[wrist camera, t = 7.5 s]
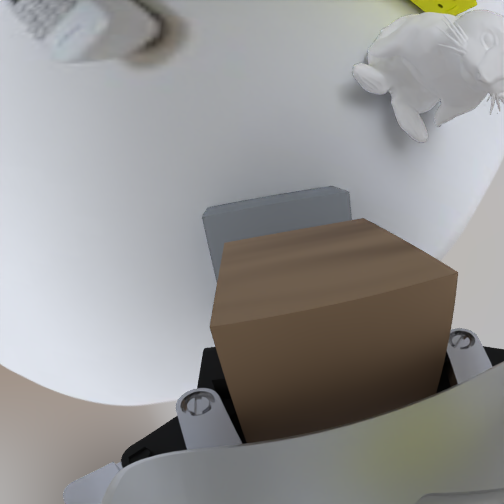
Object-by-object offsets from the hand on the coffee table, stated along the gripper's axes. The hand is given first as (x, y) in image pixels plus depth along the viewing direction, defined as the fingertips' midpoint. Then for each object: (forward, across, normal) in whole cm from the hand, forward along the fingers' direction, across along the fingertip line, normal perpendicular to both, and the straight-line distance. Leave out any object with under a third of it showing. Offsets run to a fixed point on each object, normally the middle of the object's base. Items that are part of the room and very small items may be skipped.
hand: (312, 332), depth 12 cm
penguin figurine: (+9, -10, -12) cm, 18 cm away
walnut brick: (+1, 0, 0) cm, 1 cm away
